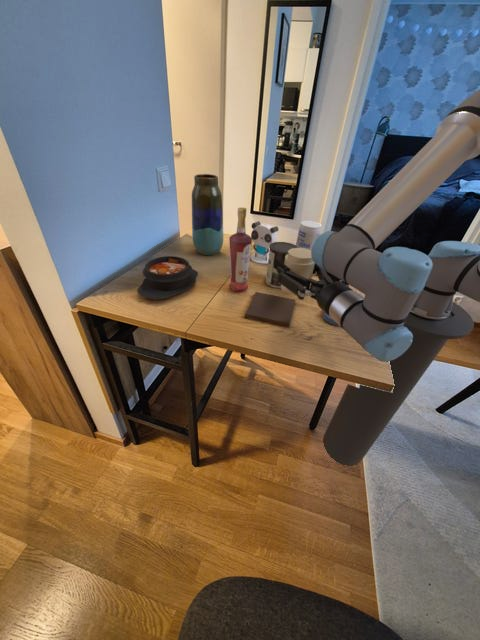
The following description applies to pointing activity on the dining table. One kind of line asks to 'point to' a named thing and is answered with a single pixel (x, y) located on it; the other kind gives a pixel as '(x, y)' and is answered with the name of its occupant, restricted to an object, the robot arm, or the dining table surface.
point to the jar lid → (329, 319)
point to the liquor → (239, 254)
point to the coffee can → (276, 252)
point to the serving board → (271, 309)
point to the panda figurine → (262, 241)
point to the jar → (299, 264)
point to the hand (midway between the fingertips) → (289, 261)
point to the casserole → (167, 277)
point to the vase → (207, 214)
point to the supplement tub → (308, 234)
